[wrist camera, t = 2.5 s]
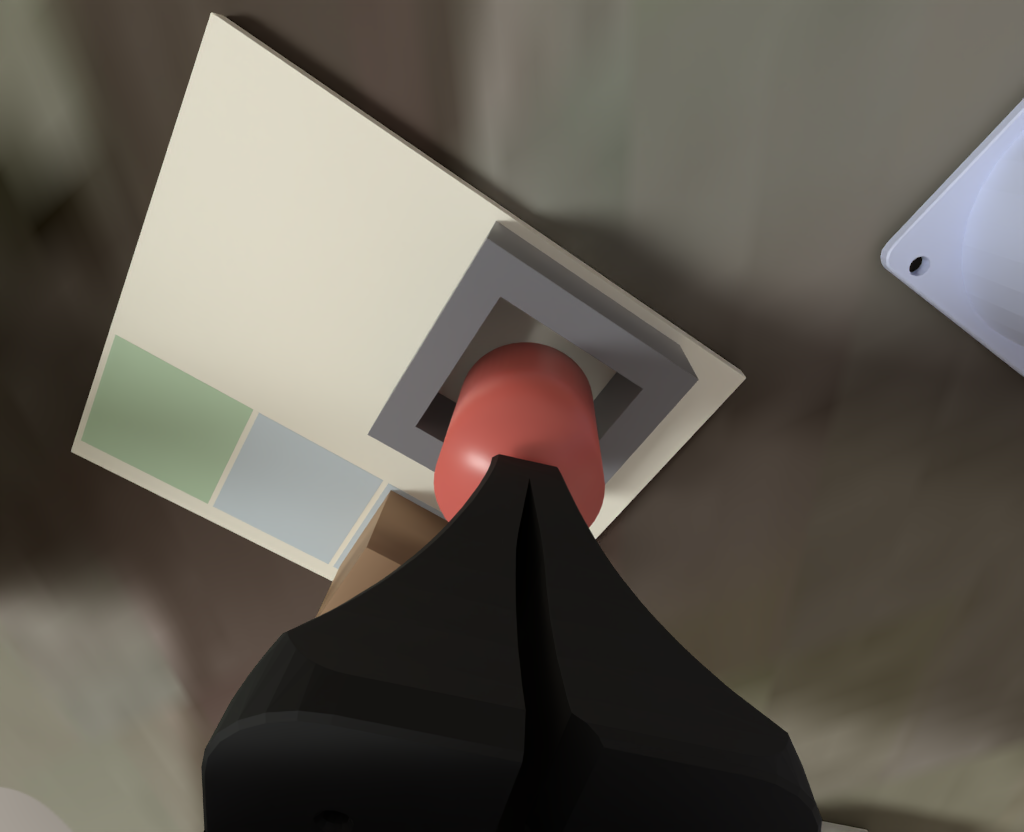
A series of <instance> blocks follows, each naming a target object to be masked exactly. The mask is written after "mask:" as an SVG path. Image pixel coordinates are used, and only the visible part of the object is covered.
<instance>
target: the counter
mask: <svg viewBox="0 0 1024 832" xmlns="http://www.w3.org/2000/svg"><path fill="white" fill-rule="evenodd" d="M447 523H448V521H447V520H445V519H443V518H441V517H439V516H438V515H436V514H434V513H432V512H430V511H428V510H427V509H425V508H423V507H421V506H419V505H417V504H416V503H414V502H412V501H410V500H408V499H406V498H404V497H403V496H401V495H399V494H397V493H395V492H393V491H392V490H391V491H390V492H389V494H388V495H387V496H386V498H385V499H384V501H383V502H382V504H381V505H380V507H379V508H378V510H377V511H376V513H375V514H374V516H373V517H372V519H371V520H370V522H369V523H368V525H367V526H366V528H365V529H364V531H363V532H362V534H361V535H360V537H359V538H358V540H357V541H356V543H355V544H354V546H353V547H352V549H351V550H350V552H349V553H348V555H347V556H346V558H345V559H344V561H343V562H342V564H341V565H340V567H339V569H338V571H337V573H336V576H335V578H334V580H333V582H332V584H331V586H330V588H329V591H328V593H327V595H326V597H325V599H324V601H323V603H322V605H321V608H320V610H319V612H318V614H317V616H316V617H318V616H320V615H322V614H324V613H326V612H328V611H330V610H332V609H334V608H336V607H338V606H340V605H341V604H343V603H345V602H346V601H348V600H350V599H351V598H353V597H355V596H356V595H358V594H359V593H361V592H363V591H364V590H366V589H368V588H369V587H371V586H372V585H374V584H376V583H377V582H379V581H380V580H382V579H383V578H385V577H386V576H387V575H389V574H390V573H392V572H393V571H394V570H396V569H397V568H398V567H399V566H401V565H402V564H403V563H405V562H406V561H407V560H408V559H410V558H411V557H412V556H414V555H415V554H416V553H417V552H418V551H419V550H421V549H422V548H423V547H424V546H425V545H426V544H427V543H428V542H430V541H431V540H432V539H433V538H434V537H435V536H436V535H437V534H438V533H439V532H440V531H441V530H442V529H443V528H444V527H445V526H446V525H447Z"/></svg>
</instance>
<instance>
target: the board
mask: <svg viewBox="0 0 1024 832" xmlns="http://www.w3.org/2000/svg"><path fill="white" fill-rule="evenodd" d="M496 221H497V222H499V223H500V224H502V225H503V226H505V227H506V228H508V229H509V230H511V231H512V232H514V233H515V234H517V235H518V236H520V237H521V238H523V239H524V240H525V241H527V242H528V243H530V244H531V245H533V246H534V247H536V248H537V249H539V250H540V251H542V252H543V253H545V254H546V255H548V256H549V257H551V258H552V259H553V260H555V261H556V262H558V263H559V264H561V265H562V266H564V267H565V268H567V269H568V270H570V271H571V272H573V273H574V274H576V275H577V276H579V277H580V278H582V279H583V280H584V281H586V282H587V283H589V284H590V285H592V286H593V287H595V288H596V289H598V290H599V291H601V292H602V293H604V294H605V295H607V296H608V297H610V298H611V299H612V300H614V301H615V302H617V303H618V304H620V305H621V306H623V307H624V308H626V309H627V310H629V311H630V312H632V313H633V314H635V315H636V316H638V317H639V318H641V319H642V320H643V321H645V322H646V323H648V324H649V325H651V326H652V327H654V328H655V329H657V330H658V331H660V332H661V333H663V334H664V335H666V336H667V337H669V338H670V339H671V340H673V341H674V342H676V343H677V344H679V345H680V346H681V348H682V350H683V352H684V354H685V355H686V357H687V359H688V361H689V363H690V365H691V366H692V368H693V370H694V372H695V374H696V376H697V377H698V379H699V380H698V381H697V382H696V383H695V385H694V386H693V387H692V388H691V389H690V390H689V391H688V392H687V394H686V395H685V396H684V397H683V398H682V399H681V400H680V401H679V402H678V404H677V405H676V406H675V407H674V408H673V409H672V410H671V411H670V413H669V414H668V415H667V416H666V417H665V418H664V419H663V420H662V422H661V423H660V424H659V425H658V426H657V427H656V428H655V429H654V431H653V432H652V433H651V434H650V435H649V436H648V437H647V438H646V439H645V441H644V442H643V443H642V444H641V445H640V446H639V447H638V448H637V450H636V451H635V452H634V453H633V454H632V455H631V456H630V457H629V459H628V460H627V461H626V462H625V463H624V464H623V465H622V466H621V468H620V469H619V470H618V471H617V472H616V473H615V474H614V475H613V477H612V478H611V479H610V480H609V481H608V482H607V483H606V484H605V494H604V500H603V504H602V507H601V509H600V512H599V514H598V516H597V518H596V519H595V521H594V522H593V524H592V525H591V526H590V527H589V529H590V531H591V532H592V534H593V536H594V538H595V539H596V538H597V537H598V536H599V535H600V534H601V533H602V532H603V531H604V530H605V529H606V528H607V526H608V525H609V524H610V523H611V522H612V521H613V520H614V519H615V518H616V517H617V516H618V515H619V514H620V513H621V512H622V510H623V509H624V508H625V507H626V506H627V505H628V504H629V503H630V502H631V501H632V500H633V499H634V498H635V497H636V495H637V494H638V493H639V492H640V491H641V490H642V489H643V488H644V487H645V486H646V485H647V484H648V483H649V482H650V480H651V479H652V478H653V477H654V476H655V475H656V474H657V473H658V472H659V471H660V470H661V469H662V468H663V467H664V466H665V464H666V463H667V462H668V461H669V460H670V459H671V458H672V457H673V456H674V455H675V454H676V453H677V452H678V451H679V449H680V448H681V447H682V446H683V445H684V444H685V443H686V442H687V441H688V440H689V439H690V438H691V437H692V436H693V434H694V433H695V432H696V431H697V430H698V429H699V428H700V427H701V426H702V425H703V424H704V423H705V422H706V421H707V420H708V418H709V417H710V416H711V415H712V414H713V413H714V412H715V411H716V410H717V409H718V408H719V407H720V406H721V405H722V403H723V402H724V401H725V400H726V399H727V398H728V397H729V396H730V395H731V394H732V393H733V392H734V391H735V390H736V389H737V387H738V386H739V385H740V384H741V383H742V382H743V381H744V380H745V379H746V377H745V375H744V374H743V373H742V371H741V370H740V369H738V368H737V367H735V366H734V365H732V364H731V363H729V362H728V361H727V360H725V359H724V358H722V357H721V356H719V355H718V354H716V353H715V352H713V351H712V350H711V349H709V348H708V347H706V346H705V345H703V344H702V343H700V342H699V341H697V340H696V339H694V338H693V337H692V336H690V335H689V334H687V333H686V332H684V331H683V330H681V329H680V328H678V327H677V326H676V325H674V324H673V323H671V322H670V321H668V320H667V319H665V318H664V317H662V316H661V315H659V314H658V313H657V312H655V311H654V310H652V309H651V308H649V307H648V306H646V305H645V304H643V303H642V302H640V301H639V300H638V299H636V298H635V297H633V296H632V295H630V294H629V293H627V292H626V291H624V290H623V289H622V288H620V287H619V286H617V285H616V284H614V283H613V282H611V281H610V280H608V279H607V278H605V277H604V276H603V275H601V274H600V273H598V272H597V271H595V270H594V269H592V268H591V267H589V266H588V265H587V264H585V263H584V262H582V261H581V260H579V259H578V258H576V257H575V256H573V255H572V254H570V253H569V252H568V251H566V250H565V249H563V248H562V247H560V246H559V245H557V244H556V243H554V242H553V241H552V240H550V239H549V238H547V237H546V236H544V235H543V234H541V233H540V232H538V231H537V230H535V229H534V228H533V227H531V226H530V225H528V224H527V223H525V222H524V221H522V220H521V219H519V218H518V217H517V216H515V215H514V214H512V213H511V212H509V211H508V210H506V209H505V208H503V207H502V206H500V205H499V204H498V203H496V202H495V201H493V200H492V199H490V198H489V197H487V196H486V195H484V194H483V193H481V192H480V191H479V190H477V189H476V188H474V187H473V186H471V185H470V184H468V183H467V182H465V181H464V180H463V179H461V178H460V177H458V176H457V175H455V174H454V173H452V172H451V171H449V170H448V169H446V168H445V167H444V166H442V165H441V164H439V163H438V162H436V161H435V160H433V159H432V158H430V157H429V156H428V155H426V154H425V153H423V152H422V151H420V150H419V149H417V148H416V147H414V146H413V145H411V144H410V143H409V142H407V141H406V140H404V139H403V138H401V137H400V136H398V135H397V134H395V133H394V132H393V131H391V130H390V129H388V128H387V127H385V126H384V125H382V124H381V123H379V122H378V121H376V120H375V119H374V118H372V117H371V116H369V115H368V114H366V113H365V112H363V111H362V110H360V109H359V108H358V107H356V106H355V105H353V104H352V103H350V102H349V101H347V100H346V99H344V98H343V97H341V96H340V95H339V94H337V93H336V92H334V91H333V90H331V89H330V88H328V87H327V86H325V85H324V84H323V83H321V82H320V81H318V80H317V79H315V78H314V77H312V76H311V75H309V74H308V73H306V72H305V71H304V70H302V69H301V68H299V67H298V66H296V65H295V64H293V63H292V62H290V61H289V60H287V59H286V58H285V57H283V56H282V55H280V54H279V53H277V52H276V51H274V50H273V49H271V48H270V47H269V46H267V45H266V44H264V43H263V42H261V41H260V40H258V39H257V38H255V37H254V36H252V35H251V34H250V33H248V32H247V31H245V30H244V29H242V28H241V27H239V26H238V25H236V24H235V23H234V22H232V21H231V20H229V19H228V18H226V17H225V16H223V15H219V14H216V13H212V12H211V15H210V18H209V21H208V24H207V27H206V30H205V34H204V37H203V40H202V43H201V46H200V49H199V52H198V56H197V59H196V62H195V65H194V68H193V71H192V74H191V77H190V81H189V84H188V87H187V90H186V93H185V96H184V99H183V102H182V106H181V109H180V112H179V115H178V118H177V121H176V124H175V127H174V131H173V134H172V137H171V140H170V143H169V146H168V149H167V152H166V156H165V159H164V162H163V165H162V168H161V171H160V174H159V177H158V181H157V184H156V187H155V190H154V193H153V196H152V199H151V202H150V206H149V209H148V212H147V215H146V218H145V221H144V224H143V228H142V231H141V234H140V237H139V240H138V243H137V246H136V249H135V253H134V256H133V259H132V262H131V265H130V268H129V271H128V274H127V278H126V281H125V284H124V287H123V290H122V293H121V296H120V299H119V303H118V306H117V309H116V312H115V315H114V318H113V321H112V324H111V328H110V331H109V334H108V337H107V340H106V343H105V346H104V349H103V353H102V356H101V359H100V362H99V365H98V368H97V371H96V374H95V378H94V381H93V384H92V387H91V390H90V393H89V396H88V399H87V403H86V406H85V409H84V412H83V415H82V418H81V421H80V425H79V428H78V431H77V434H76V437H75V440H74V443H73V446H72V450H71V452H72V453H74V454H76V455H78V456H80V457H83V458H85V459H87V460H89V461H91V462H93V463H95V464H97V465H99V466H101V467H103V468H105V469H107V470H109V471H111V472H113V473H115V474H117V475H119V476H121V477H123V478H125V479H127V480H129V481H131V482H133V483H135V484H137V485H139V486H141V487H143V488H145V489H147V490H149V491H151V492H153V493H155V494H157V495H159V496H161V497H163V498H165V499H167V500H169V501H171V502H173V503H175V504H177V505H179V506H181V507H184V508H186V509H188V510H190V511H192V512H194V513H196V514H198V515H200V516H202V517H204V518H206V519H208V520H210V521H212V522H214V523H216V524H218V525H220V526H222V527H224V528H226V529H228V530H230V531H232V532H234V533H236V534H238V535H240V536H242V537H244V538H246V539H248V540H250V541H252V542H254V543H256V544H258V545H260V546H262V547H264V548H266V549H268V550H270V551H272V552H274V553H276V554H278V555H280V556H283V557H285V558H287V559H289V560H291V561H293V562H295V563H297V564H299V565H301V566H303V567H305V568H307V569H309V570H311V571H313V572H315V573H317V574H319V575H321V576H323V577H325V578H327V579H329V580H331V581H333V580H334V578H335V576H336V573H337V571H338V569H339V567H340V565H341V564H342V562H343V561H344V559H345V558H346V556H347V555H348V553H349V552H350V550H351V549H352V547H353V546H354V544H355V543H356V541H357V540H358V538H359V537H360V535H361V534H362V532H363V531H364V529H365V528H366V526H367V525H368V523H369V522H370V520H371V519H372V517H373V516H374V514H375V513H376V511H377V510H378V508H379V507H380V505H381V504H382V502H383V501H384V499H385V498H386V496H387V495H388V494H389V492H390V491H391V490H392V491H393V492H395V493H397V494H399V495H401V496H403V497H404V498H406V499H408V500H410V501H412V502H414V503H416V504H417V505H419V506H421V507H423V508H425V509H427V510H428V511H430V512H432V513H434V514H436V515H438V516H439V517H441V518H443V519H445V517H444V515H443V514H442V512H441V510H440V508H439V505H438V503H437V500H436V496H435V492H434V472H433V471H432V470H430V469H428V468H426V467H425V466H423V465H421V464H419V463H417V462H416V461H414V460H412V459H410V458H408V457H407V456H405V455H403V454H401V453H400V452H398V451H396V450H394V449H392V448H391V447H389V446H387V445H385V444H383V443H382V442H380V441H378V440H376V439H375V438H373V437H371V436H369V435H367V434H368V433H369V431H370V429H371V427H372V426H373V424H374V422H375V420H376V419H377V417H378V415H379V413H380V412H381V410H382V408H383V406H384V405H385V403H386V401H387V399H388V398H389V396H390V394H391V393H392V391H393V389H394V388H395V386H396V384H397V383H398V381H399V379H400V378H401V376H402V375H403V373H404V371H405V370H406V368H407V366H408V365H409V363H410V361H411V360H412V358H413V356H414V355H415V353H416V352H417V350H418V348H419V347H420V345H421V343H422V342H423V340H424V338H425V337H426V335H427V333H428V332H429V330H430V329H431V327H432V325H433V324H434V322H435V320H436V319H437V317H438V315H439V314H440V312H441V310H442V309H443V307H444V306H445V304H446V302H447V301H448V299H449V297H450V296H451V294H452V292H453V291H454V289H455V287H456V286H457V284H458V283H459V281H460V279H461V278H462V276H463V274H464V273H465V271H466V269H467V268H468V266H469V264H470V263H471V261H472V260H473V258H474V256H475V255H476V253H477V251H478V250H479V248H480V246H481V245H482V243H483V241H484V240H485V238H486V237H487V235H488V233H489V232H490V230H491V228H492V227H493V225H494V223H495V222H496ZM519 342H532V343H539V344H543V345H547V346H550V347H553V348H555V349H557V350H559V351H561V352H563V353H565V354H566V355H567V356H569V357H570V358H571V359H572V360H574V361H575V362H576V363H577V364H578V366H579V367H580V368H581V369H582V371H583V372H584V374H585V375H586V377H587V379H588V381H589V384H590V386H591V391H592V395H593V401H594V400H595V398H596V397H597V396H598V395H599V393H600V392H601V391H602V390H603V388H604V387H605V386H606V385H607V383H608V382H609V381H610V380H611V378H612V377H613V376H614V375H615V374H616V371H615V370H613V369H612V368H610V367H608V366H607V365H605V364H604V363H602V362H601V361H599V360H598V359H596V358H595V357H593V356H591V355H590V354H588V353H587V352H585V351H584V350H582V349H581V348H579V347H578V346H576V345H574V344H573V343H571V342H570V341H568V340H567V339H565V338H564V337H562V336H561V335H559V334H558V333H556V332H554V331H553V330H551V329H550V328H548V327H547V326H545V325H544V324H542V323H541V322H539V321H537V320H536V319H534V318H533V317H531V316H530V315H528V314H527V313H525V312H524V311H522V310H520V309H519V308H517V307H516V306H514V305H513V304H511V303H510V302H508V301H507V300H505V299H503V298H502V297H500V298H499V299H498V301H497V302H496V304H495V305H494V307H493V308H492V310H491V312H490V313H489V315H488V316H487V318H486V319H485V321H484V322H483V324H482V325H481V327H480V328H479V330H478V331H477V333H476V335H475V336H474V338H473V339H472V341H471V342H470V344H469V345H468V347H467V348H466V350H465V351H464V353H463V354H462V356H461V358H460V359H459V361H458V362H457V364H456V365H455V367H454V368H453V370H452V371H451V373H450V374H449V376H448V377H447V379H446V381H445V382H444V384H443V385H442V387H441V388H440V390H439V391H438V392H439V393H440V394H442V395H444V396H445V397H447V398H449V399H450V400H452V401H454V402H455V403H457V400H458V397H459V394H460V391H461V388H462V385H463V382H464V380H465V377H466V376H467V374H468V372H469V370H470V369H471V368H472V366H473V365H474V364H475V363H476V362H477V361H478V360H479V359H480V358H481V357H483V356H484V355H485V354H487V353H488V352H490V351H492V350H494V349H496V348H498V347H501V346H504V345H508V344H512V343H519ZM445 520H446V519H445Z"/></svg>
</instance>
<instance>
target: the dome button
mask: <svg viewBox="0 0 1024 832" xmlns="http://www.w3.org/2000/svg"><path fill="white" fill-rule="evenodd" d="M498 454H501V455H506V456H510V457H515V458H519V459H524V460H528V461H533V462H537V463H542V464H546V465H551V466H555V467H558V469H559V471H560V472H561V474H562V476H563V478H564V481H565V483H566V485H567V487H568V489H569V491H570V493H571V495H572V497H573V499H574V501H575V503H576V505H577V507H578V509H579V511H580V513H581V515H582V517H583V518H584V520H585V522H586V524H587V525H588V527H590V526H591V525H592V524H593V522H594V521H595V519H596V518H597V516H598V514H599V512H600V509H601V507H602V504H603V500H604V494H605V481H604V473H603V466H602V459H601V452H600V444H599V437H598V430H597V423H596V416H595V409H594V402H593V395H592V391H591V386H590V384H589V381H588V379H587V377H586V375H585V374H584V372H583V371H582V369H581V368H580V367H579V366H578V364H577V363H576V362H575V361H574V360H572V359H571V358H570V357H569V356H567V355H566V354H565V353H563V352H561V351H559V350H557V349H555V348H553V347H550V346H547V345H543V344H539V343H532V342H519V343H512V344H508V345H504V346H501V347H498V348H496V349H494V350H492V351H490V352H488V353H487V354H485V355H484V356H483V357H481V358H480V359H479V360H478V361H477V362H476V363H475V364H474V365H473V366H472V368H471V369H470V370H469V372H468V374H467V376H466V377H465V380H464V382H463V385H462V388H461V391H460V394H459V397H458V400H457V403H456V406H455V409H454V412H453V415H452V418H451V421H450V424H449V427H448V430H447V434H446V437H445V440H444V443H443V446H442V449H441V452H440V455H439V458H438V461H437V464H436V468H435V472H434V492H435V496H436V500H437V503H438V505H439V508H440V510H441V512H442V514H443V515H444V517H445V519H446V520H447V521H448V522H449V521H450V520H451V519H452V518H453V517H454V516H455V515H456V513H457V512H458V511H459V510H460V509H461V508H462V507H463V505H464V504H465V503H466V502H467V500H468V499H469V498H470V496H471V495H472V494H473V492H474V491H475V490H476V488H477V487H478V485H479V484H480V482H481V481H482V479H483V477H484V476H485V474H486V472H487V470H488V468H489V466H490V464H491V460H492V457H494V456H496V455H498Z"/></svg>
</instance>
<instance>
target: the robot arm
mask: <svg viewBox="0 0 1024 832" xmlns="http://www.w3.org/2000/svg"><path fill="white" fill-rule="evenodd" d="M917 257H922V264H921V265H920V267H919V268H918V269H917V270H915V271H914V272H910V271H909V267H910V264H911V263H912V261H913V260H915V259H916V258H917ZM880 258H881V264H882V265H883V266H884V268H885V269H887V270H888V271H889V272H890V273H892V274H893V275H894V276H895V277H897V278H898V279H899V280H901V281H902V282H903V283H904V284H906V285H907V286H908V287H910V288H911V289H912V290H913V291H915V292H916V293H917V294H918V295H920V296H921V297H922V298H924V299H925V300H926V301H927V302H929V303H930V304H931V305H932V306H934V307H935V308H936V309H938V310H939V311H940V312H941V313H943V314H944V315H945V316H946V317H948V318H949V319H950V320H952V321H953V322H954V323H955V324H957V325H958V326H959V327H960V328H962V329H963V330H964V331H966V332H967V333H968V334H969V335H971V336H972V337H973V338H974V339H976V340H977V341H978V342H980V343H981V344H982V345H983V346H985V347H986V348H987V349H989V350H990V351H991V352H992V353H994V354H995V355H996V356H997V357H999V358H1000V359H1001V360H1003V361H1004V362H1005V363H1006V364H1008V365H1009V366H1010V367H1011V368H1013V369H1014V370H1015V371H1017V372H1018V373H1019V374H1020V375H1022V376H1023V377H1024V99H1023V100H1022V101H1021V102H1020V103H1019V104H1018V105H1017V106H1016V107H1015V108H1014V109H1013V110H1012V111H1011V112H1010V113H1009V114H1008V115H1007V116H1006V118H1005V119H1004V120H1003V121H1002V122H1001V123H1000V124H999V125H998V126H997V127H996V128H995V129H994V130H993V131H992V132H991V133H990V134H989V136H988V137H987V138H986V139H985V140H984V141H983V142H982V143H981V144H980V145H979V146H978V147H977V148H976V149H975V150H974V151H973V152H972V153H971V155H970V156H969V157H968V158H967V159H966V160H965V161H964V162H963V163H962V164H961V165H960V166H959V167H958V168H957V169H956V170H955V171H954V172H953V174H952V175H951V176H950V177H949V178H948V179H947V180H946V181H945V182H944V183H943V184H942V185H941V186H940V187H939V188H938V189H937V190H936V191H935V193H934V194H933V195H932V196H931V197H930V198H929V199H928V200H927V201H926V202H925V203H924V204H923V205H922V206H921V207H920V208H919V209H918V210H917V212H916V213H915V214H914V215H913V216H912V217H911V218H910V219H909V220H908V221H907V222H906V223H905V224H904V225H903V226H902V227H901V228H900V230H899V231H898V232H897V233H896V234H895V235H894V236H893V237H892V238H891V239H890V240H889V241H888V242H887V243H886V245H885V246H884V248H883V249H882V252H881V256H880ZM202 787H203V808H204V829H205V830H204V832H821V826H822V818H821V816H820V813H819V810H818V808H817V805H816V802H815V800H814V797H813V794H812V791H811V788H810V785H809V783H808V780H807V777H806V774H805V772H804V769H803V766H802V764H801V762H800V759H799V757H798V755H797V753H796V750H795V748H794V746H793V744H792V742H791V739H790V737H789V735H788V733H787V732H786V731H784V730H783V729H782V728H780V727H779V726H778V725H776V724H775V723H774V722H773V721H771V720H770V719H769V718H767V717H766V716H765V715H763V714H762V713H761V712H760V711H758V710H757V709H756V708H754V707H753V706H752V705H750V704H749V703H748V702H746V701H745V700H744V699H743V698H741V697H740V696H739V695H737V694H736V693H735V692H733V691H732V690H731V689H730V688H729V687H727V686H726V685H725V684H724V683H723V682H722V681H720V680H719V679H718V678H717V677H716V676H715V675H714V674H712V673H711V672H710V671H709V670H708V669H707V668H706V667H704V666H703V665H702V664H701V663H700V662H699V661H698V660H697V659H695V658H694V657H693V656H692V655H691V654H690V653H689V652H688V651H687V650H686V649H685V648H684V647H683V646H682V645H681V644H680V643H679V642H678V641H677V640H676V639H675V638H674V637H673V636H672V635H671V634H670V633H669V632H668V631H667V630H666V629H665V628H664V627H663V626H662V625H661V624H660V623H659V622H658V621H657V620H656V619H655V617H654V616H653V615H652V614H651V613H650V612H649V611H648V610H647V608H646V607H645V606H644V605H643V604H642V603H641V602H640V600H639V599H638V598H637V597H636V595H635V594H634V593H633V592H632V590H631V589H630V588H629V587H628V585H627V584H626V583H625V582H624V581H623V579H622V578H621V577H620V575H619V574H618V573H617V571H616V570H615V568H614V567H613V566H612V564H611V563H610V561H609V560H608V558H607V557H606V555H605V554H604V552H603V551H602V549H601V547H600V546H599V544H598V543H597V541H596V539H595V538H594V536H593V534H592V532H591V531H590V529H589V527H588V525H587V524H586V522H585V520H584V518H583V517H582V515H581V513H580V511H579V509H578V507H577V505H576V503H575V501H574V499H573V497H572V495H571V493H570V491H569V489H568V487H567V485H566V483H565V481H564V478H563V476H562V474H561V472H560V471H559V469H558V467H555V466H551V465H546V464H542V463H537V462H533V461H528V460H524V459H519V458H515V457H510V456H506V455H501V454H498V455H496V456H494V457H492V460H491V464H490V466H489V468H488V470H487V472H486V474H485V476H484V477H483V479H482V481H481V482H480V484H479V485H478V487H477V488H476V490H475V491H474V492H473V494H472V495H471V496H470V498H469V499H468V500H467V502H466V503H465V504H464V505H463V507H462V508H461V509H460V510H459V511H458V512H457V513H456V515H455V516H454V517H453V518H452V519H451V520H450V521H449V522H448V523H447V525H446V526H445V527H444V528H443V529H442V530H441V531H440V532H439V533H438V534H437V535H436V536H435V537H434V538H433V539H432V540H431V541H430V542H428V543H427V544H426V545H425V546H424V547H423V548H422V549H421V550H419V551H418V552H417V553H416V554H415V555H414V556H412V557H411V558H410V559H408V560H407V561H406V562H405V563H403V564H402V565H401V566H399V567H398V568H397V569H396V570H394V571H393V572H392V573H390V574H389V575H387V576H386V577H385V578H383V579H382V580H380V581H379V582H377V583H376V584H374V585H372V586H371V587H369V588H368V589H366V590H364V591H363V592H361V593H359V594H358V595H356V596H355V597H353V598H351V599H350V600H348V601H346V602H345V603H343V604H341V605H340V606H338V607H336V608H334V609H332V610H330V611H328V612H326V613H324V614H322V615H320V616H318V617H316V618H314V619H312V620H310V621H308V622H306V623H304V624H302V625H300V626H298V627H296V628H294V629H292V630H289V631H287V632H285V633H283V634H282V635H281V636H280V637H279V638H278V639H277V641H276V642H275V643H274V644H273V645H272V647H271V648H270V649H269V650H268V651H267V652H266V654H265V655H264V656H263V657H262V659H261V660H260V661H259V662H258V664H257V665H256V666H255V668H254V669H253V670H252V672H251V673H250V674H249V676H248V677H247V678H246V680H245V681H244V683H243V684H242V686H241V687H240V688H239V690H238V691H237V693H236V694H235V696H234V698H233V699H232V701H231V702H230V704H229V706H228V708H227V709H226V711H225V713H224V715H223V717H222V719H221V721H220V722H219V724H218V726H217V728H216V730H215V732H214V733H213V735H212V737H211V739H210V741H209V743H208V745H207V746H206V748H205V752H204V757H203V762H202Z"/></svg>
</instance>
